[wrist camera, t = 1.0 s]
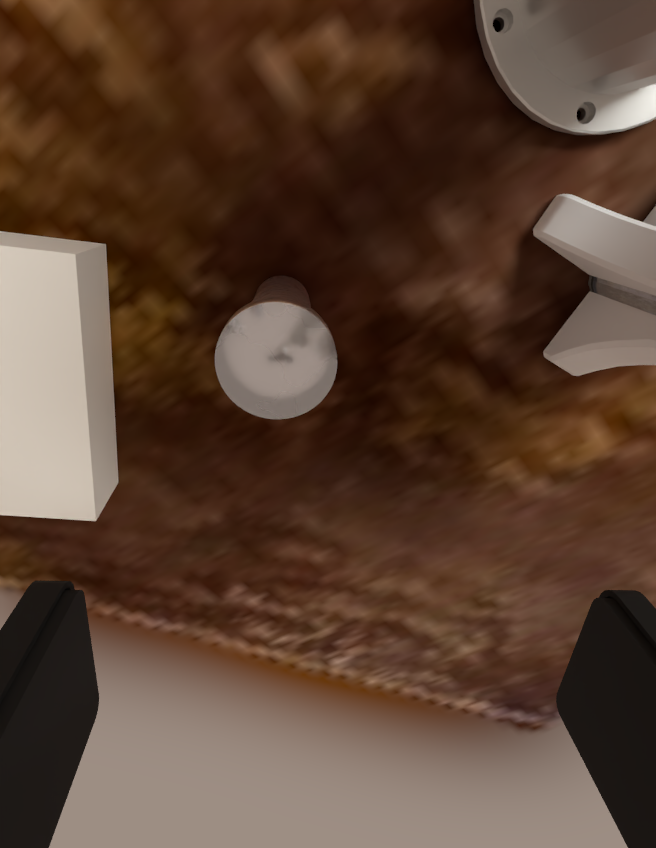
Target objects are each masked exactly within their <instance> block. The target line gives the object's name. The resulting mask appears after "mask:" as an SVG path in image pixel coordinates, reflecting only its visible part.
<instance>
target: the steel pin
mask: <svg viewBox="0 0 656 848" xmlns="http://www.w3.org/2000/svg"><path fill="white" fill-rule="evenodd" d="M215 369H216V374H217V377H218V380H219V382H220V384H221V387H222V388H223V390H224V391H225V393H226V394H227V396H228V397H229V398H230V399H231V400H232V401H233V402H234V403H235V404H236V405H237V406H239V407H240V408H242V409H243V410H245V411H247V412H248V413H250V414H253V415H255V416H258V417H262V418H267V419H288V418H293V417H296V416H299V415H302V414H304V413H306V412H308V411H310V410H311V409H313V408H314V407H316V406H317V405H318V404H319V403H320V402H321V401H322V400H323V399H324V398H325V397H326V395H327V394H328V392H329V391H330V389H331V387H332V385H333V383H334V380H335V377H336V372H337V353H336V348H335V344H334V340H333V337H332V334H331V332H330V330H329V328H328V326H327V324H326V323H325V321H324V320H323V319H322V318H321V317H320V315H319V314H318V313H316V312H315V311H314V310H313V309H312V308H311V305H310V299H309V295H308V292H307V291H306V289H305V287H304V286H303V285H302V284H301V283H300V282H299V281H297V280H296V279H294V278H292V277H289V276H282V275H280V276H274V277H271V278H269V279H267V280H265V281H264V282H263V283H262V284H261V285H260V286H259V288H258V289H257V291H256V294H255V297H254V300H253V301H252V302H250V303H248V304H246V305H244V306H243V307H242V308H240V309H239V310H238V311H237V312H235V313H234V314H233V315H232V317H231V318H230V319H229V320H228V322H227V323H226V325H225V327H224V329H223V331H222V333H221V335H220V337H219V340H218V342H217V346H216V350H215Z"/></svg>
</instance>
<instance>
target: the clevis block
mask: <svg viewBox="0 0 656 848" xmlns="http://www.w3.org/2000/svg"><path fill="white" fill-rule="evenodd" d="M118 482H119V481H118V462H117V443H116V424H115V405H114V386H113V367H112V348H111V329H110V310H109V291H108V272H107V253H106V244H101V243H93V242H85V241H77V240H68V239H60V238H52V237H44V236H35V235H27V234H19V233H11V232H2V231H0V515H8V516H23V517H38V518H54V519H69V520H85V521H96V520H97V519H98V517H99V515H100V513H101V512H102V510H103V508H104V507H105V505H106V503H107V501H108V500H109V498H110V496H111V494H112V493H113V491H114V489H115V488H116V486H117V484H118Z"/></svg>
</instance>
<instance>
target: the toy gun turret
mask: <svg viewBox="0 0 656 848" xmlns="http://www.w3.org/2000/svg"><path fill="white" fill-rule="evenodd" d="M533 236H535V237H536V238H538V239H539V240H540V241H542V242H543V243H545V244H546V245H547V246H549V247H550V248H552V249H553V250H555V251H556V252H557V253H559V254H560V255H562V256H563V257H565V258H566V259H567V260H569V261H570V262H572V263H573V264H574V265H576V266H577V267H579V268H580V269H582V270H583V271H584V272H586V273H587V274H589V275H590V277H589V283H588V284H589V288H590V291H589V293H588V294H587V295H586V296H585V298H584V299H583V300H582V302H581V303H580V304H579V306H578V307H577V308H576V309H575V311H574V312H573V313H572V315H571V316H570V317H569V319H568V320H567V321H566V322H565V324H564V325H563V326H562V328H561V329H560V330H559V332H558V333H557V334H556V335H555V337H554V338H553V339H552V341H551V342H550V343H549V345H548V346H547V347H546V348H545V350H544V351H543V355H544V357H545V358H546V359H548V360H549V361H551V362H552V363H554V364H555V365H557V366H559V367H560V368H562V369H563V370H565V371H567V372H568V373H570V374H571V375H573V376H580V375H583V374H587V373H590V372H594V371H598V370H603V369H608V368H612V367H617V366H631V365H656V206H655V207H654V208H653V210H652V211H651V212H650V213H649V215H648V216H647V217H646V219H645V220H644V221H643V222H641V221H638V220H635V219H632V218H629V217H626V216H623V215H620V214H618V213H615V212H613V211H610V210H608V209H605V208H603V207H600V206H598V205H595V204H593V203H590V202H588V201H586V200H583V199H581V198H579V197H577V196H574V195H571V194H561V195H557V196H556V197H555V198H554V199H553V201H552V202H551V204H550V205H549V207H548V208H547V209H546V211H545V212H544V214H543V215H542V217H541V218H540V220H539V221H538V222H537V224H536V225H535V227H534V228H533Z"/></svg>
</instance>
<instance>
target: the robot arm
mask: <svg viewBox="0 0 656 848" xmlns="http://www.w3.org/2000/svg"><path fill="white" fill-rule="evenodd" d="M474 9H475V19H476V28H477V31H478V35H479V38H480V42H481V46H482V49H483V53H484V56H485V59H486V61H487V63H488V65H489V67H490V69H491V71H492V73H493V75H494V77H495V79H496V81H497V83H498V85H499V86H500V87H501V89H502V90H503V91H504V92H505V94H506V95H507V96H508V98H509V99H510V100H511V102H512V103H513V104H514V105H515V106H516V107H518V108H519V109H520V110H521V111H522V112H524V113H525V114H526V115H527V116H528V117H530V118H531V119H532V120H534V121H536V122H538V123H540V124H542V125H544V126H546V127H548V128H550V129H552V130H555V131H560V132H564V133H569V134H573V135H603V134H609V133H614V132H621V131H625V130H628V129H631V128H634V127H637V126H640V125H643V124H646V123H649V122H651V121H652V120H654V119H656V0H474ZM494 20H497V21H499V22H500V24H501V29H500V31H499V32H496V31H495V29H494V27H493V21H494ZM577 110H580V112H581V117H580V119H579V120H578V119H577ZM91 645H92V644H91V638H90V631H89V624H88V617H87V610H86V603H85V596H84V592H83V591H82V590H75V589H74V585H73V584H72V582H70V581H34V582H33V583H32V584H31V585H30V586H29V587H28V589H27V590H26V592H25V593H24V595H23V596H22V598H21V599H20V601H19V602H18V604H17V606H16V608H15V609H14V610H13V612H12V613H11V615H10V616H9V618H8V619H7V621H6V622H5V624H4V625H3V627H2V628H1V630H0V848H49V845H50V842H51V840H52V836H53V834H54V831H55V829H56V826H57V823H58V820H59V818H60V815H61V812H62V809H63V807H64V804H65V801H66V799H67V796H68V793H69V790H70V787H71V785H72V782H73V779H74V776H75V774H76V771H77V768H78V765H79V763H80V760H81V757H82V754H83V752H84V749H85V746H86V744H87V741H88V738H89V735H90V732H91V730H92V727H93V724H94V722H95V719H96V715H97V711H98V704H99V693H98V686H97V680H96V672H95V665H94V659H93V651H92V646H91ZM556 702H557V708H558V712H559V714H560V716H561V718H562V720H563V722H564V724H565V726H566V728H567V730H568V732H569V734H570V736H571V738H572V739H573V742H574V744H575V745H576V747H577V749H578V751H579V753H580V755H581V757H582V759H583V761H584V763H585V765H586V767H587V769H588V771H589V773H590V775H591V777H592V778H593V780H594V782H595V784H596V786H597V788H598V790H599V792H600V794H601V796H602V798H603V800H604V802H605V804H606V805H607V808H608V809H609V811H610V813H611V815H612V817H613V819H614V821H615V823H616V825H617V827H618V829H619V831H620V833H621V835H622V837H623V839H624V841H625V843H626V844H627V846H628V848H656V609H655V608H654V606H653V605H652V604H651V603H650V602H649V601H648V599H647V598H646V597H645V596H644V595H643V594H641V593H640V592H638V591H630V590H605V591H604V592H602V593H601V595H600V596H599V598H596V599H594V601H593V602H592V604H591V607H590V609H589V612H588V615H587V617H586V620H585V622H584V625H583V628H582V630H581V633H580V635H579V638H578V641H577V643H576V646H575V648H574V651H573V653H572V656H571V659H570V661H569V664H568V666H567V669H566V672H565V674H564V677H563V679H562V682H561V685H560V687H559V690H558V692H557V698H556Z"/></svg>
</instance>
